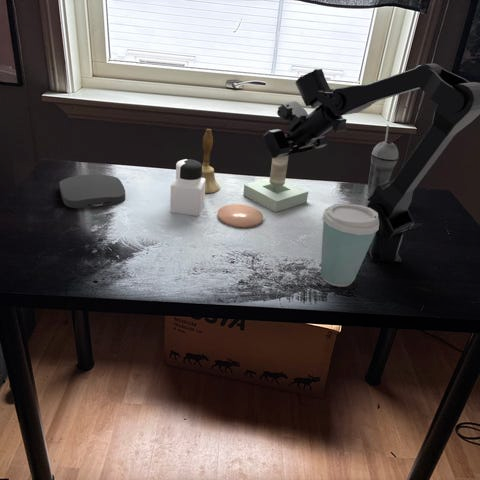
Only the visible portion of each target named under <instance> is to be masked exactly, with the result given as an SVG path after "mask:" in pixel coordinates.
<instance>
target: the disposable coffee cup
mask: <svg viewBox="0 0 480 480" xmlns="http://www.w3.org/2000/svg"><path fill="white" fill-rule="evenodd" d="M378 229H379V219H378V213H377V212H376V211H374V210H373V209H371V208H368V207H367V206H364V205H361V204H355V203H347V202H346V203H334V204H333V205H330V206H328V207H327V208H325V209H324V211H323V214H322V239H321V240H322V241H321V257H320V275H321V278H322V280H323V281H324V282H325V283H327V284H329V285H331V286H335V287H339V288H341V287H342V288H343V287H348V286H350V285H351V284H353V282H354V281H355V280H356V278H357V275H358V273H359V270H360V268H361V267H362V264H363V261H365V257H366V255H367V253H368V249H369V246H370V244H372V242H373V238H374V235H375V233H376V231H378Z"/></svg>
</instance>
